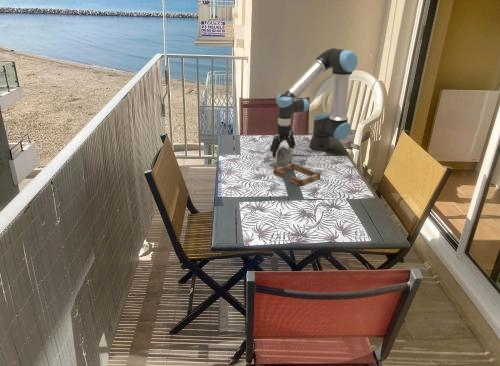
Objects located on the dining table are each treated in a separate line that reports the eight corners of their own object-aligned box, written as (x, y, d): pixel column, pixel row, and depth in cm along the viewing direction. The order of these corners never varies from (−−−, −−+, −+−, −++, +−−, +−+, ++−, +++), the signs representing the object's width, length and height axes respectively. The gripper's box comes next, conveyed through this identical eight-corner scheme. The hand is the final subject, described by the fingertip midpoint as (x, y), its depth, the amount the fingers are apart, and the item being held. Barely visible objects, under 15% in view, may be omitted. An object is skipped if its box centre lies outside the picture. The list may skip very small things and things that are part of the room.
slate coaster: (282, 161, 255) (282, 160, 255) (294, 166, 247) (294, 165, 247) (268, 165, 249) (268, 164, 248) (281, 170, 241) (281, 169, 241)
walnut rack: (293, 167, 245) (293, 163, 244) (320, 179, 231) (320, 174, 230) (273, 174, 236) (273, 169, 235) (300, 186, 221) (300, 181, 220)
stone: (285, 148, 239) (285, 142, 248) (271, 158, 242) (272, 152, 251) (295, 160, 241) (294, 154, 250) (281, 170, 245) (281, 163, 254)
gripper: (294, 119, 247) (291, 154, 256) (264, 126, 233) (263, 162, 242) (303, 122, 242) (300, 157, 251) (273, 129, 228) (271, 166, 237)
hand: (282, 160), depth 247 cm, fingers closed on stone, 11 cm apart
